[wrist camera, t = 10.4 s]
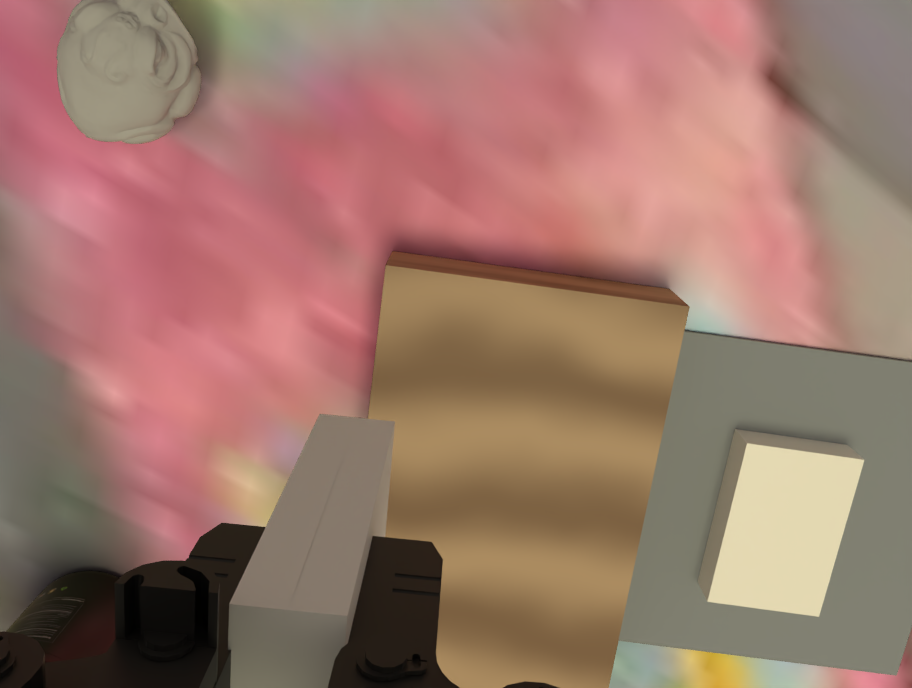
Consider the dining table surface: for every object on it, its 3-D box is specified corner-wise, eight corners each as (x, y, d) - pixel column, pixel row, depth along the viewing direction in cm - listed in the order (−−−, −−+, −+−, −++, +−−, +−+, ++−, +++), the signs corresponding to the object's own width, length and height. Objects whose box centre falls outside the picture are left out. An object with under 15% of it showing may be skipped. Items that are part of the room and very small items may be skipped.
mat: (681, 329, 44) (682, 331, 44) (987, 371, 45) (991, 373, 44) (615, 637, 49) (616, 640, 49) (893, 672, 49) (896, 675, 49)
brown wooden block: (392, 251, 43) (385, 265, 40) (669, 289, 44) (689, 306, 40) (346, 635, 49) (337, 680, 45) (592, 665, 50) (603, 712, 46)
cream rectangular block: (864, 459, 44) (847, 445, 46) (747, 443, 43) (734, 428, 45) (818, 616, 46) (804, 596, 48) (707, 601, 46) (697, 581, 48)
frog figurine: (250, 43, 41) (208, 30, 34) (178, 169, 42) (124, 181, 36) (136, -34, 40) (69, -63, 33) (67, 97, 42) (-10, 96, 35)
